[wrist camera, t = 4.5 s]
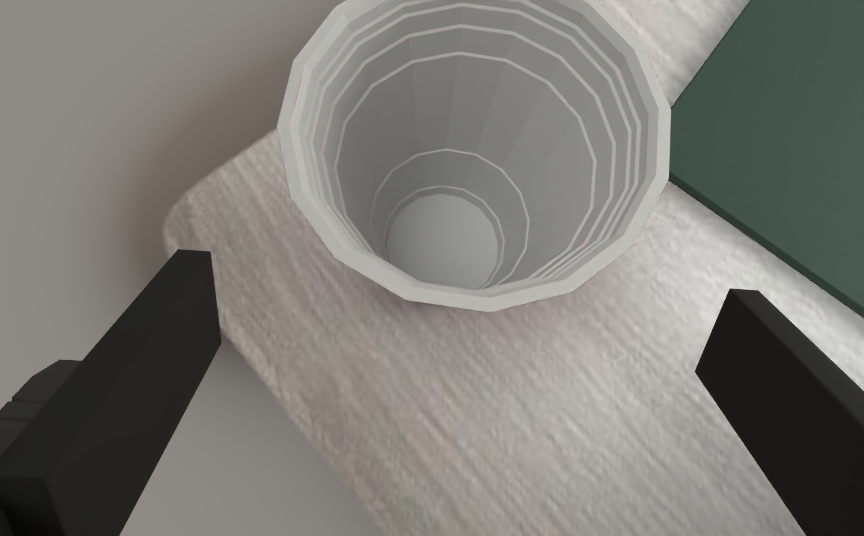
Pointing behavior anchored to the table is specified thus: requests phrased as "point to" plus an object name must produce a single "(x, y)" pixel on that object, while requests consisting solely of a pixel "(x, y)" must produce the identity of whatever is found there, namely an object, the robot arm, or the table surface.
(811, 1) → the placemat
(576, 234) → the plastic cup
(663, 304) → the table surface
